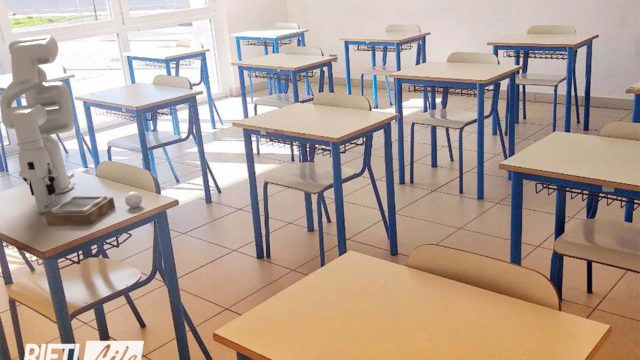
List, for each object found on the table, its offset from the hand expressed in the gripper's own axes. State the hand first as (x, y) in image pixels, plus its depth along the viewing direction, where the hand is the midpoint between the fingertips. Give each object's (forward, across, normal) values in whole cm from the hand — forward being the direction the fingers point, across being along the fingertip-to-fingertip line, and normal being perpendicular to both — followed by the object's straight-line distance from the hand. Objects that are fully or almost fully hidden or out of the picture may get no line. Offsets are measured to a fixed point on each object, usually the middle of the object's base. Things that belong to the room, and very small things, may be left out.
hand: (43, 193), depth 226 cm
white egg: (+7, +32, +4) cm, 33 cm away
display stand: (+7, +17, -5) cm, 19 cm away
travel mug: (+7, 0, 0) cm, 7 cm away
